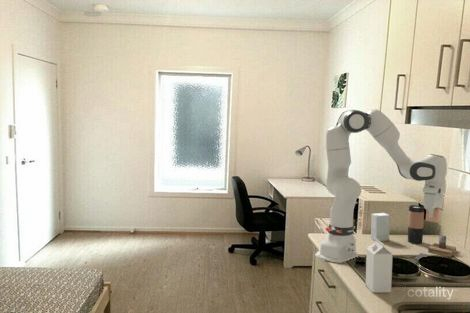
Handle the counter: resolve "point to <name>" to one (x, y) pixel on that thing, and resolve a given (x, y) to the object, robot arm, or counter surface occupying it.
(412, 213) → the travel mug
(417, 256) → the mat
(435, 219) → the cap
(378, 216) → the skincare box
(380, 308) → the counter surface
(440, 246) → the post stand
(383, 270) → the milk carton
